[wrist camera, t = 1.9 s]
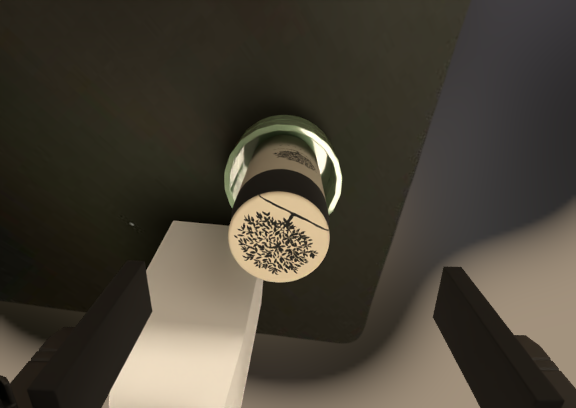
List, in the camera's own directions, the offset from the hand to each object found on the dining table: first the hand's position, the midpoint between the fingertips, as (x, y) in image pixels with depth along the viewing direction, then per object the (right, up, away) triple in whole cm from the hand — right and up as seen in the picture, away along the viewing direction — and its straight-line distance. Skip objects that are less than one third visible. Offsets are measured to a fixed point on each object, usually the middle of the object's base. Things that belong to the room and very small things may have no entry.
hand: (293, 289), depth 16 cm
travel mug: (-1, +8, +27) cm, 28 cm away
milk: (-9, -4, +33) cm, 34 cm away
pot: (-1, +8, +27) cm, 29 cm away
